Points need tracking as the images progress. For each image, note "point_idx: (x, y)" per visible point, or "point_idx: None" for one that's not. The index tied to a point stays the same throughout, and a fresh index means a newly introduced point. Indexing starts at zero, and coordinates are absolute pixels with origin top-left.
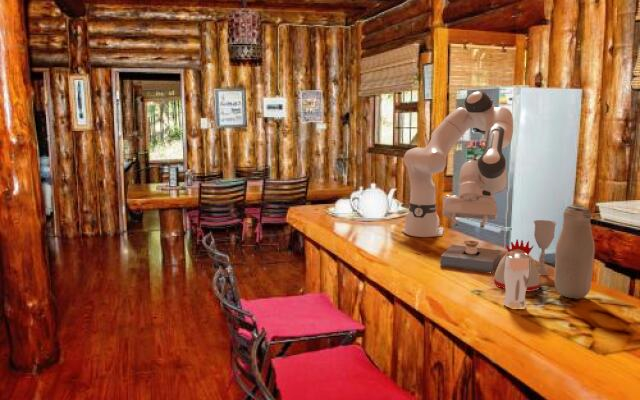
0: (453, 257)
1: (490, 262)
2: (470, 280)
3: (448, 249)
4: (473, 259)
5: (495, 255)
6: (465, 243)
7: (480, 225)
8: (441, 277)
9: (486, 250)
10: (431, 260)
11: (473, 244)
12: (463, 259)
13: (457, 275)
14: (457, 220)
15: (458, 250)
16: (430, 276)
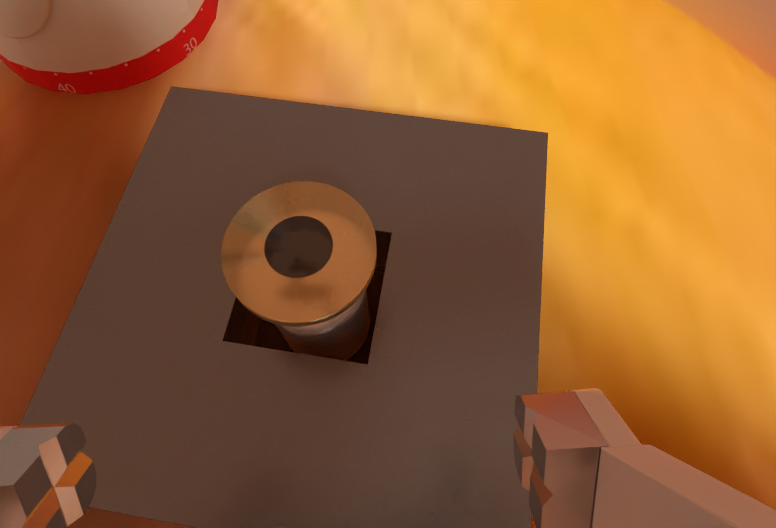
0: (449, 121)
1: (189, 92)
2: (332, 8)
3: (530, 346)
4: (303, 108)
5: (108, 264)
6: (363, 214)
7: (74, 424)
8: (479, 10)
9: (154, 431)
10: (627, 313)
11: (283, 188)
12: (374, 117)
13: (402, 58)
14: (564, 442)
15: (433, 337)
16: (536, 9)
